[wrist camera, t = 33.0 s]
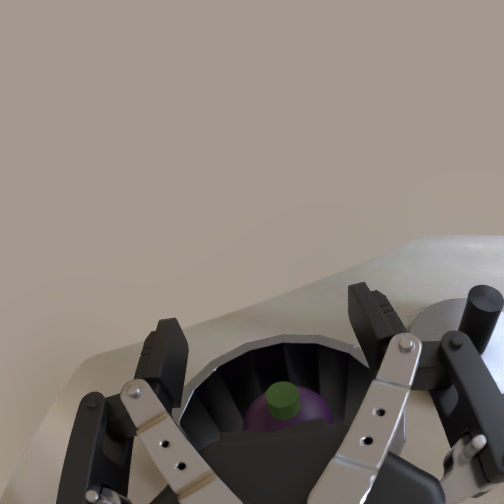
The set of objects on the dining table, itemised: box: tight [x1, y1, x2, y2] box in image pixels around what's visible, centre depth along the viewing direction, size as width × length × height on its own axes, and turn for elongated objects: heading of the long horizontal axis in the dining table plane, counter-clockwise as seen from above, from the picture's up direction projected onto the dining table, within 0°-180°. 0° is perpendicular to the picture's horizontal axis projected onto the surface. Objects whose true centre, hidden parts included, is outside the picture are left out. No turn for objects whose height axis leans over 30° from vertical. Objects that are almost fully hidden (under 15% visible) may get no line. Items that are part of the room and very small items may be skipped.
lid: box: [409, 285, 504, 395], centre depth 22 cm, size 15×15×7 cm
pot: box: [171, 335, 406, 456], centre depth 17 cm, size 14×14×10 cm
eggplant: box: [243, 382, 334, 433], centre depth 16 cm, size 5×5×12 cm
